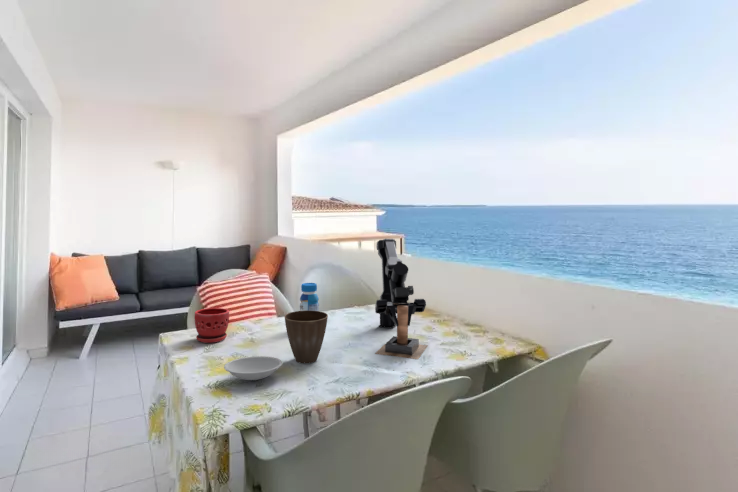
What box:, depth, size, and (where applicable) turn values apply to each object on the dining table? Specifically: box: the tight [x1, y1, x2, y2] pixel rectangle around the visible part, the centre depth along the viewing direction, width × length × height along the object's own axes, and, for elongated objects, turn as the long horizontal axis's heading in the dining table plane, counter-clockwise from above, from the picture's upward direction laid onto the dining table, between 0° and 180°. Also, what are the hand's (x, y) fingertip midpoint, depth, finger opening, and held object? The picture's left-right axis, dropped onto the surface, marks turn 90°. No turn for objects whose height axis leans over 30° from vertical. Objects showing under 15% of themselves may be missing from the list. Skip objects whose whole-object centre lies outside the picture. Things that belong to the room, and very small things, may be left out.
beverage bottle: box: [299, 282, 320, 311], centre depth 188 cm, size 8×8×20 cm
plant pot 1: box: [194, 307, 230, 344], centre depth 173 cm, size 13×13×12 cm
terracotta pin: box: [396, 305, 409, 345], centre depth 158 cm, size 4×4×14 cm
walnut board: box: [374, 343, 429, 360], centre depth 158 cm, size 16×16×1 cm
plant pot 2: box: [284, 310, 329, 364], centre depth 149 cm, size 15×15×16 cm
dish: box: [223, 355, 283, 381], centre depth 133 cm, size 18×14×5 cm
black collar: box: [384, 335, 420, 355], centre depth 158 cm, size 10×10×3 cm
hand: (403, 325), depth 156 cm, fingers closed on terracotta pin, 4 cm apart
